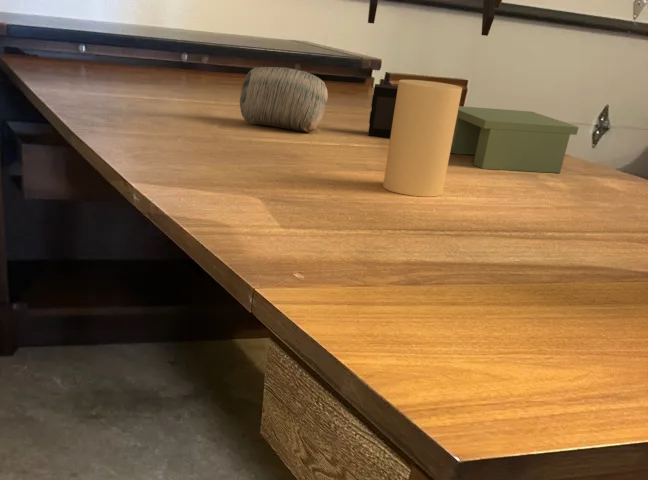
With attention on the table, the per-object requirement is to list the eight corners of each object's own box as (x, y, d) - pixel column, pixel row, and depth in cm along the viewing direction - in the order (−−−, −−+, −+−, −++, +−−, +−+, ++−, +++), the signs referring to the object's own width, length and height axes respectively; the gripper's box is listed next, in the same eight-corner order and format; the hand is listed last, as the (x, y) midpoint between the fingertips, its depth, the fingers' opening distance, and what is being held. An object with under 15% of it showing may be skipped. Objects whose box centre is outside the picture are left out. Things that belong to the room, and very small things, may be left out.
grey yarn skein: (220, 99, 123) (252, 35, 121) (242, 125, 132) (272, 66, 130) (294, 137, 120) (328, 72, 118) (311, 161, 129) (343, 101, 127)
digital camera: (367, 136, 128) (373, 86, 124) (367, 131, 133) (374, 82, 129) (433, 144, 128) (442, 93, 124) (431, 138, 132) (440, 90, 128)
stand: (522, 154, 127) (532, 111, 123) (566, 173, 115) (579, 126, 112) (438, 149, 123) (446, 105, 120) (475, 168, 112) (485, 120, 109)
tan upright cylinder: (429, 184, 100) (448, 82, 94) (451, 198, 94) (472, 90, 88) (375, 181, 98) (390, 77, 92) (394, 195, 93) (411, 85, 86)
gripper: (532, -89, 104) (525, 55, 100) (336, -110, 103) (321, 34, 99) (553, -149, 96) (546, 5, 92) (343, -172, 96) (327, -19, 92)
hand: (430, 20), depth 96 cm, fingers open, 13 cm apart
